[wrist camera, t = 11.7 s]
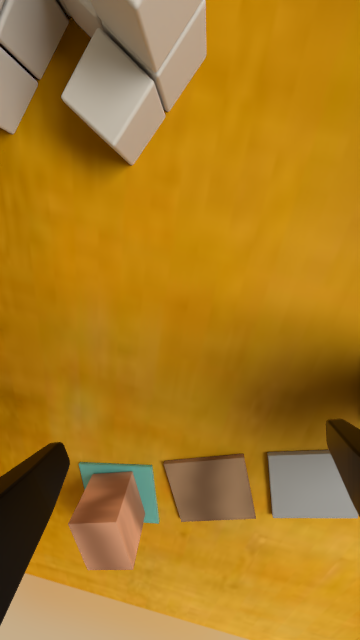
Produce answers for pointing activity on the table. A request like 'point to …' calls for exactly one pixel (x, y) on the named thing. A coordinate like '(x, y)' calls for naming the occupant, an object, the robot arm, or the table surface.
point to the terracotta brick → (109, 522)
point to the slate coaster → (307, 486)
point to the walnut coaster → (211, 488)
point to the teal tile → (142, 478)
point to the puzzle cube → (105, 62)
